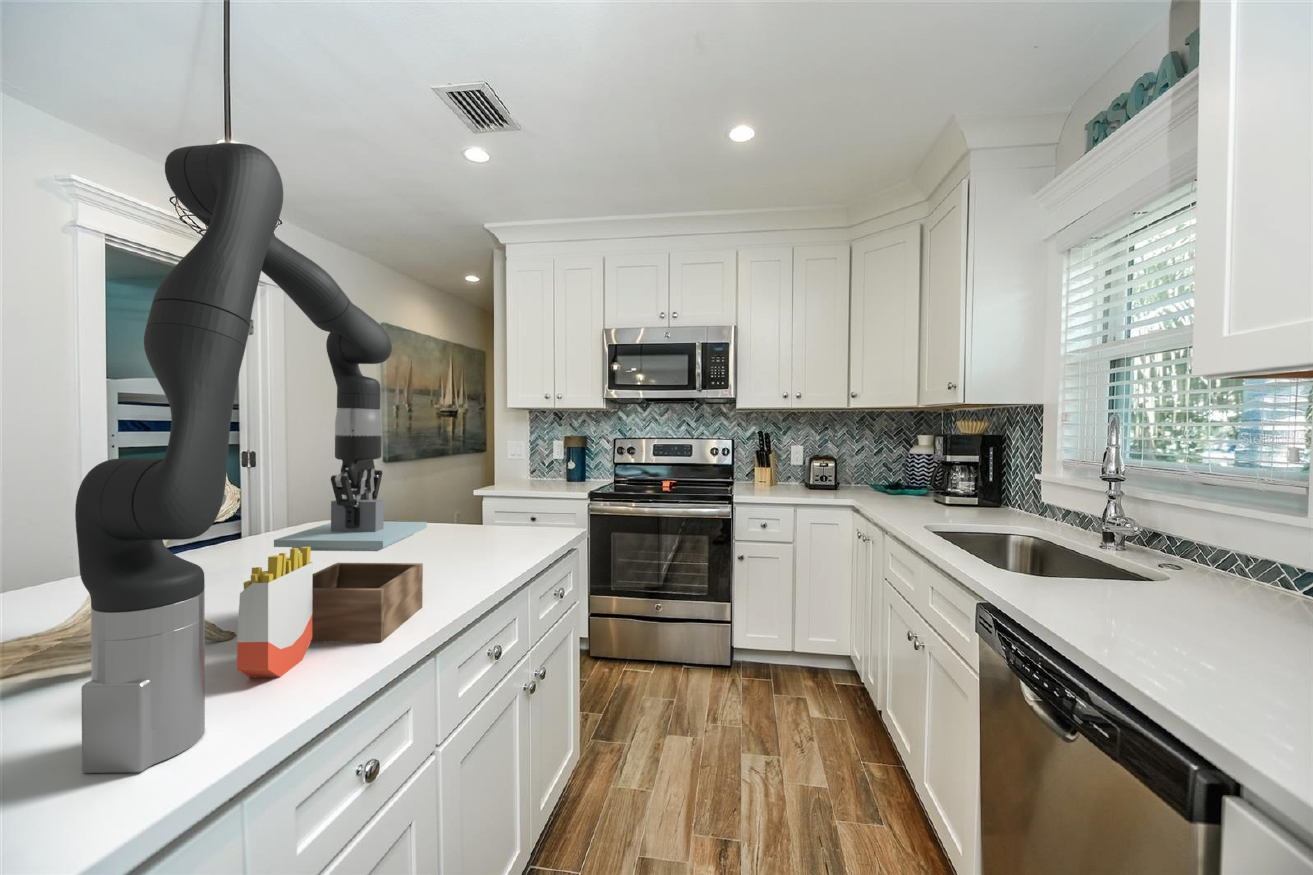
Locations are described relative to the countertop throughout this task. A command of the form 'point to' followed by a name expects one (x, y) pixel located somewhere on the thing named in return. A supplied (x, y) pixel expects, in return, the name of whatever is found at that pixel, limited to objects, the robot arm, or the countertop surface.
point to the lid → (353, 531)
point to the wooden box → (364, 600)
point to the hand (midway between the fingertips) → (357, 525)
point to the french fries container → (276, 616)
